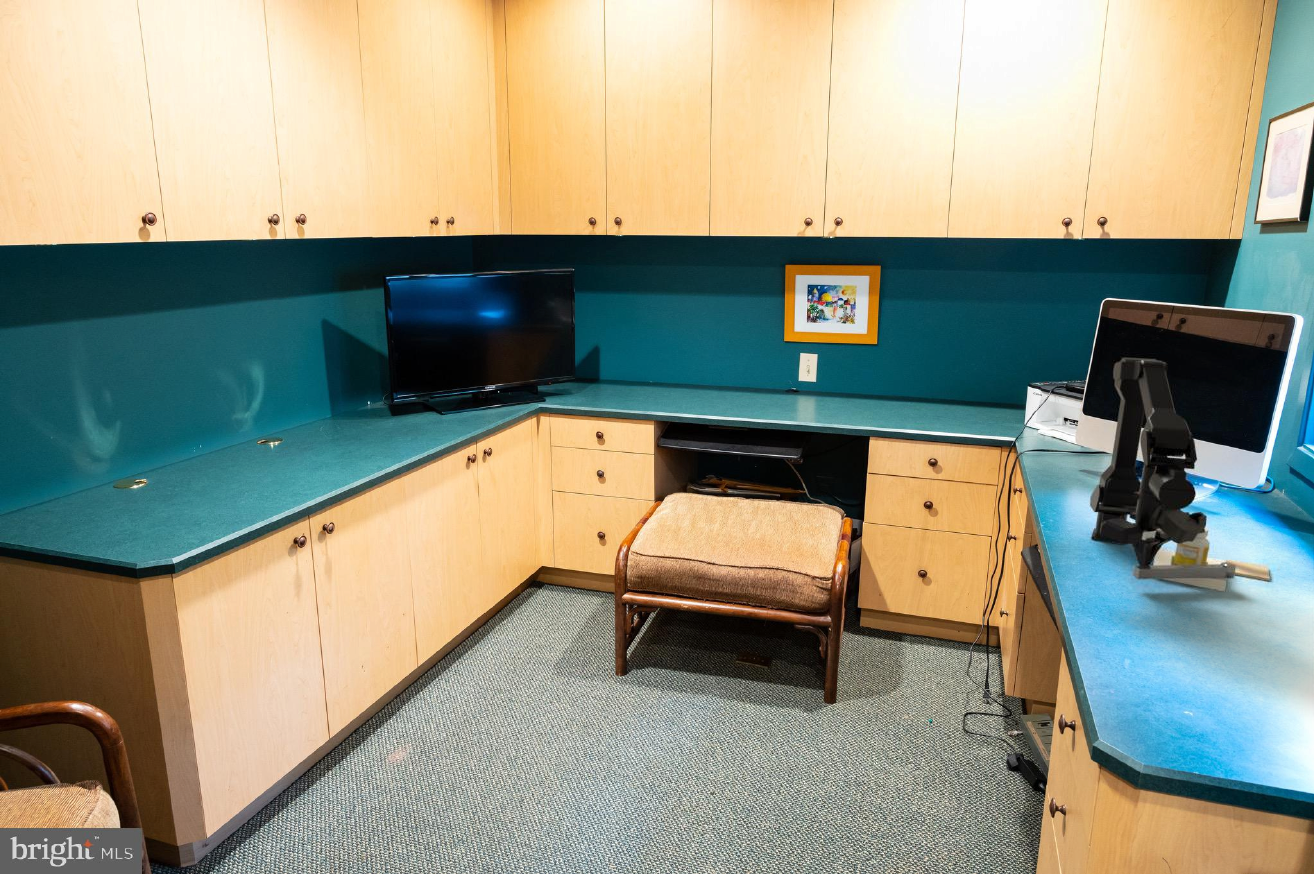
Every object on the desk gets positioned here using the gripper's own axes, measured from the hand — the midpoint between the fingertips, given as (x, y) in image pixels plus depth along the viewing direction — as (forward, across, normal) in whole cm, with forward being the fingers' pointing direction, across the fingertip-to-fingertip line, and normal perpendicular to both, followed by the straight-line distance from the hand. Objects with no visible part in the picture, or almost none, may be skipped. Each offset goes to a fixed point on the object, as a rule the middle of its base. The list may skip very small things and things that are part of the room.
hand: (1143, 568), depth 164 cm
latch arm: (+1, +6, -4) cm, 7 cm away
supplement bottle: (+4, +13, +1) cm, 14 cm away
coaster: (+4, +26, -2) cm, 26 cm away
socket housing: (+4, +13, +1) cm, 14 cm away
